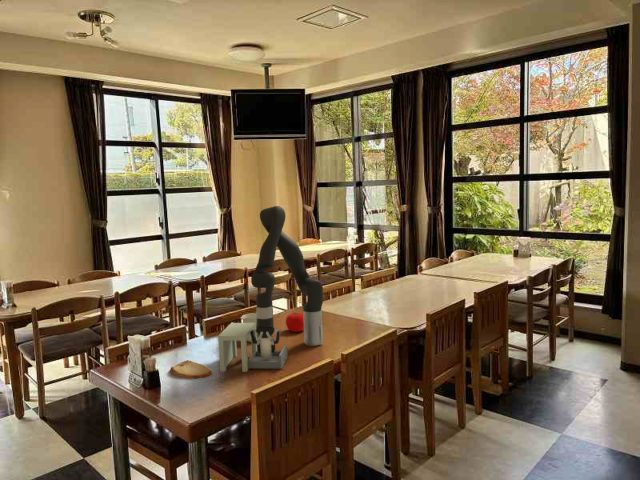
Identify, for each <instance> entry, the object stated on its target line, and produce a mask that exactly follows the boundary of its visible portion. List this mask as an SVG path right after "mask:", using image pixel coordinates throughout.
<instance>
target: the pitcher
mask: <svg viewBox="0 0 640 480" xmlns="http://www.w3.org/2000/svg"><path fill="white" fill-rule="evenodd" d="M240 319H241V320H242V323H256V329H257V318H256V312H251V313H245V314H243V315H241V317H240ZM256 338H257V341H258V338H259V335H258V333H257V332H256ZM246 340H247V342H250V343H252V342H251V334H250V335H249V336H248V338H247V339H246Z"/></svg>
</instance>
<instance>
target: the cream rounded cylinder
mask: <svg viewBox="0 0 640 480" xmlns="http://www.w3.org/2000/svg"><path fill="white" fill-rule="evenodd" d="M271 338H272V337H271ZM271 345H272V344H271V341H270V338H260V353H261V358H264V359H267V358H271V357H272V356H273V354H272V350H271Z"/></svg>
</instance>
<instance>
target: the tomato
mask: <svg viewBox="0 0 640 480" xmlns="http://www.w3.org/2000/svg"><path fill="white" fill-rule="evenodd" d="M285 325H286V326H285V327H287V329H288V330H289V331H290V332H293V333H298V332H302V331H304V318H303V313H301V312H300V313H299V312H293V313H290V314H288V315H287V317H286V318H285Z"/></svg>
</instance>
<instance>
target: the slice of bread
mask: <svg viewBox="0 0 640 480" xmlns="http://www.w3.org/2000/svg"><path fill="white" fill-rule="evenodd" d="M169 370H170V374H171V375H172V376H174V377H177V378H180V379H181V378H182V379H184V380H186V379H188V380H189V379H190V380H200V379H206V378H210V377H212V376H213V372H212V369H210V368H209V367H207V366H206V365H204V364H202V363H198V362H196V361H192V360H184V361H182V362H180V363H177V364H176V365H175V366H171V368H170V369H169Z"/></svg>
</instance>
